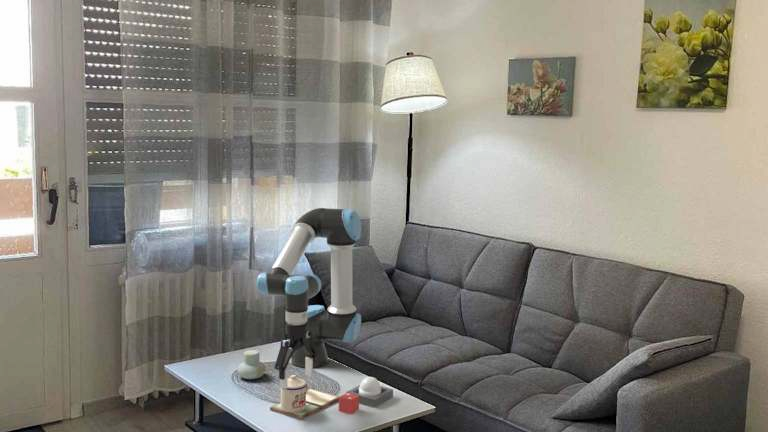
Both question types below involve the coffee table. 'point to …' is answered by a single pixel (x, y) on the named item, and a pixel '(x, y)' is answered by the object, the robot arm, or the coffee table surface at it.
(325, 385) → the coffee table surface
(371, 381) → the dome button
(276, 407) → the wooden picture frame
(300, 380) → the teacup with lid
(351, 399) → the red die
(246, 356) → the air freshener
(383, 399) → the button bezel
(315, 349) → the robot arm
